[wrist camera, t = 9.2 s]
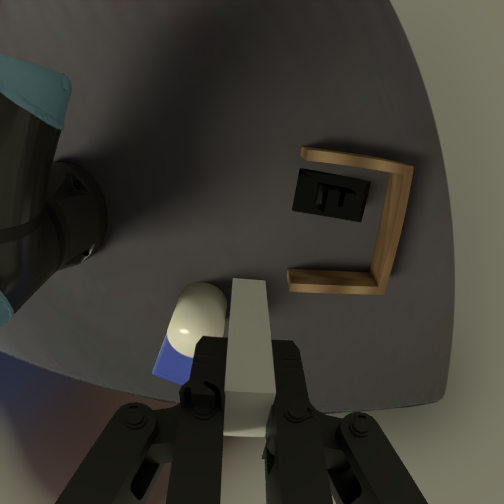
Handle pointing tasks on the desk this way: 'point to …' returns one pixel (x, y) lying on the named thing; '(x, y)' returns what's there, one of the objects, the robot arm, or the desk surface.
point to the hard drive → (172, 364)
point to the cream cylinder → (197, 316)
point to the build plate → (330, 195)
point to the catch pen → (386, 237)
